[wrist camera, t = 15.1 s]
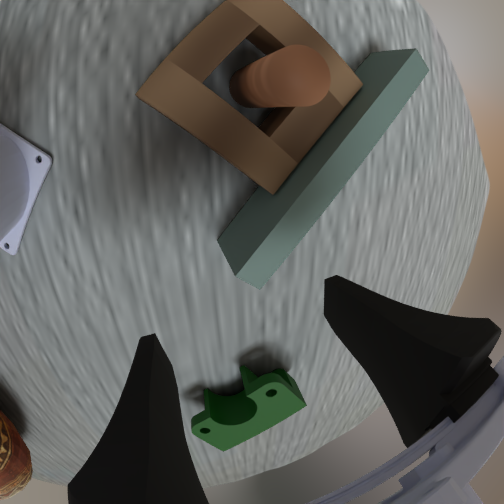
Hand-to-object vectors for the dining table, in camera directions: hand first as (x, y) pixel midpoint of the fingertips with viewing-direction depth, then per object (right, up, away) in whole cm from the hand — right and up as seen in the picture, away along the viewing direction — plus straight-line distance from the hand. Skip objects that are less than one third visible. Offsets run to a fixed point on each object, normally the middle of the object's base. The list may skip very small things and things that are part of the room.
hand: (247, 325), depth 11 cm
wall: (+5, +11, +8) cm, 14 cm away
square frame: (0, +14, +5) cm, 15 cm away
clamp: (-2, -12, +18) cm, 22 cm away
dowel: (0, +14, +5) cm, 15 cm away
